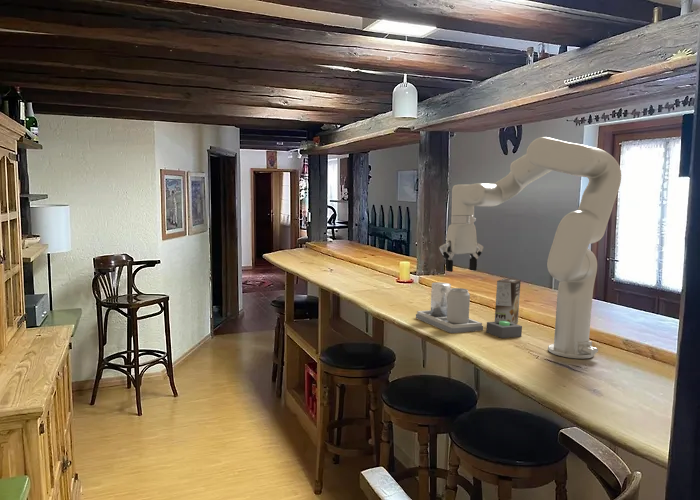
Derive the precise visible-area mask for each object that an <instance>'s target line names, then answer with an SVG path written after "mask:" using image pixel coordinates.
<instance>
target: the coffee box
mask: <svg viewBox="0 0 700 500" xmlns="http://www.w3.org/2000/svg"><path fill="white" fill-rule="evenodd" d="M521 282H522V281H521V279H513V278H501V279H499V280H497V281H496V292H495V293H496V295H495V308H494V310H495V312H494V322H495V321H508V322H511V323H514V324H517V325H518V323H519V310H520V297H521Z"/></svg>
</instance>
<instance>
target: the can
mask: <svg viewBox="0 0 700 500" xmlns="http://www.w3.org/2000/svg"><path fill="white" fill-rule="evenodd" d="M470 299H471V294H470V293H469V289H467V288H461V287H451V289H450V292H449V293H448V305H447V321H448V322H449V323H451V324H453V325H454V324H467V323H468V322H469V319H470V305H471V304H470V301H471V300H470Z"/></svg>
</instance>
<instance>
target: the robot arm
mask: <svg viewBox="0 0 700 500" xmlns="http://www.w3.org/2000/svg"><path fill="white" fill-rule="evenodd" d="M509 169H510V171H509V173H508V174H507V175H505V176H504V177H503V178H501V179H499V180H497V181H495V182H494V183H484V182H483V183H482V182H477V183H471V184H465V183H462V184H455V185H453V186H452V189H451V220H450V222H451V223H450V224H449V225H448V227H447V233H446V238H445V240H446V241H445V243H443V244H442V245H440V246H439V247H438V248H439V251H440V253H441V255H442V257H443V259H444V260H445V272H449V273H452V272H454V271H453V270H454V260H453V258H454V256H455V255H469V257H470V258H469V263H468V264H469V267H468V268H469V271H472V272H473V271H474V272H475V271H477V267H478V259H479V258H480V256H481V255H482V252H483V251H484V245H482V244H480V243H479V242H478V238H477V237H478V236H477V230H476V229H477V228H476V225H475V224H474V223H475V222H476V221H477V218H476V217H475V207H496V206H499V205H501V204H503V203H505V202H507V201H509V200H511V199H512V198H515V197H516V196H517V195H519V194H520V193H521V191H523V190H524V189H525V188H526V187H527V186H528V185H530V184H531V183H533V182H535V181H536V180H538V179H541V178H542V177H544V176H545V175H547V174H549V173H551V172H558V173H562V174H566V175H570V176H574V177H581V178H582V177H583V178H587V179H588V184H587V186H586V188H585V189H584V191H583V193H582V196H581V200H580V203H579V206H578V208H577V210H573V211H570V212H569V213H567V214H566V215H564V216H563V217H562V218H561V220H560V222H559V224H558V225H557V228H556V230H555V234H554V237H553V240H552V241H553V242H552V244H551V246H550V250H549V253H548V257H547V261H546V262H547V264H546V265H547V266H546V267H547V271H548V273H549V275H550V276H551V277H552V278H553V279H554V280H556V281H558V282H559V283H558V287H557V296H556V297H557V298H556V309H555V310H556V311H555V324H554V325H555V326H554V339H553V340H554V341H553V343H552V344H549V345H548V347H547V350H548V352H550V353H551V354H553V355H556V356H559V357H564V358H567V359H568V358H569V359H579V360H581V359H583V360H584V359H591V358H593V357H594V356H596V354H597V353H598V352H599V348H597V347H595V346H593V345H592V344H593V341H592V340H590V334H591V333H590V332H591V322H592V321H591V320H592V308H593V296H594V287H595V281H596V278H597V277H596V276H597V273H598V272H597V271H598V260H597V257H596V255H595V253H594V252H593V251H592V250H591V249H589V246H590V244H595V243H597V242H600V240H601V239H602V238H603V237H604V235H605V232H606V230H607V227H608V223H609V220H610V218H611V214H612V211H613V209H614V208H613V207H614V204H615V202H616V199H617V195H618V193H619V190H620V186H621V183H622V182H621V181H622V170H621V167H620V165H619V162H618V160H616V158H615V157H613V155H611V154H610V153H609V152H607V151H605V150H603V149H602V148H597V147H595V146H589V145H585V144H580V143H574V142H571V141H570V142H568V141H564V140H560V139H556V138H552V137H547V136H542V137H537V138H535V139H534V140H532V141H531V142H530V143H529V145H528V147H527V149H526V153H525V154H523V155H522V156H520V157H519V158H517V159H515V160H514V161H512V162H511V163H510V167H509Z"/></svg>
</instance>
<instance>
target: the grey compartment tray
mask: <svg viewBox="0 0 700 500" xmlns="http://www.w3.org/2000/svg"><path fill="white" fill-rule="evenodd" d="M430 312H431V309H430V310H418V311H416V314H415V319H417V320H419V321H421V322H423V323H424V322H425V323H426V324H429V325H431V326H433V327H436V328H438V329H440V330H443V331H445V332H448V333H449V334H458V333H470V331H471V332H480V330H483V331H484V325H483V322H480V321H477V320H475V319H471V318H469V322H468V323H467V324H454V325H453V324H451V323H449V322H448V321H447V317H433V316H431V315H430Z"/></svg>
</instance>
